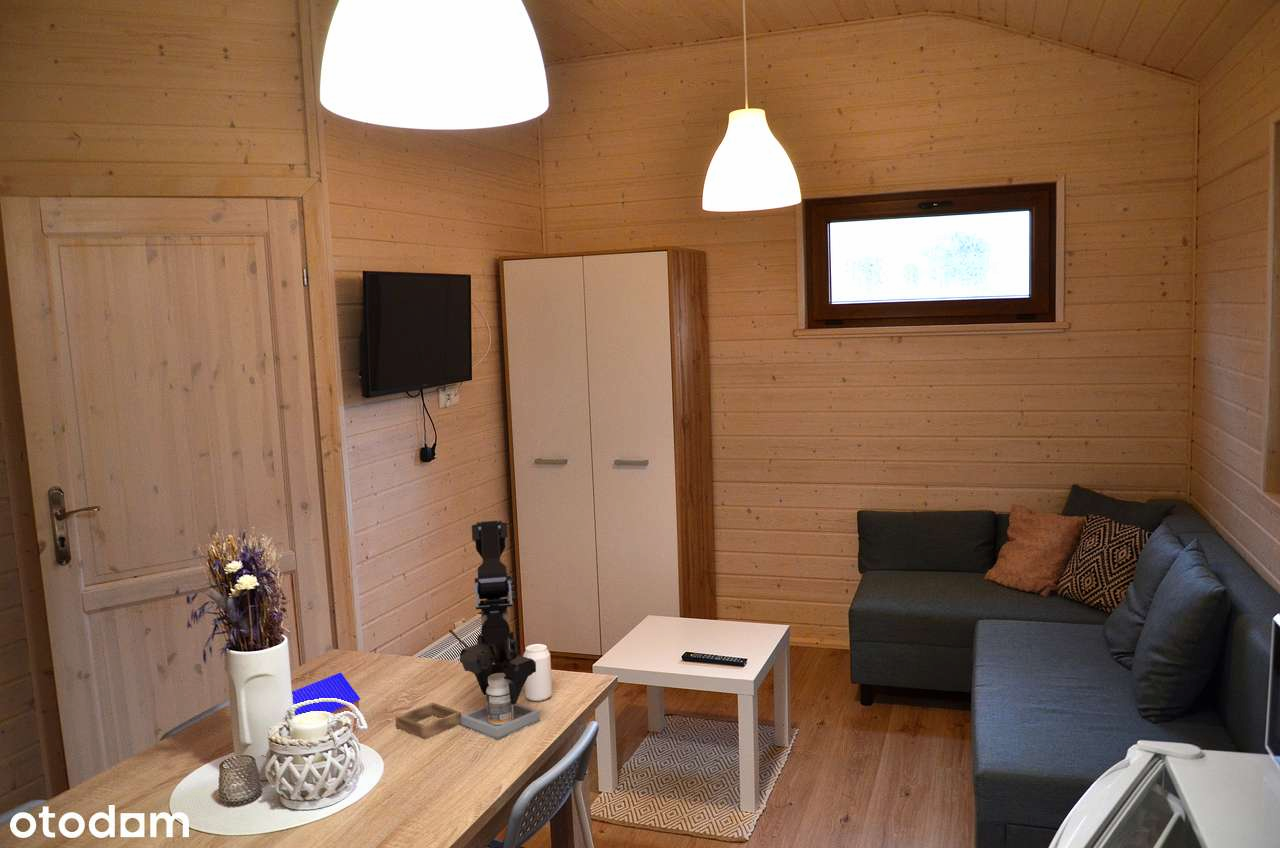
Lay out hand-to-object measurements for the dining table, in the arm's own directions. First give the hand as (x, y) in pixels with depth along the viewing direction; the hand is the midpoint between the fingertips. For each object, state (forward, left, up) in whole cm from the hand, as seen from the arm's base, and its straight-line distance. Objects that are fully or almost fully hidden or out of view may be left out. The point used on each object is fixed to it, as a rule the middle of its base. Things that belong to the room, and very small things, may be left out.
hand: (499, 699), depth 214 cm
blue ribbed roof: (+30, -28, -6) cm, 41 cm away
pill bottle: (0, 0, -5) cm, 5 cm away
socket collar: (+10, -12, -6) cm, 17 cm away
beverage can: (-15, -4, -6) cm, 17 cm away
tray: (0, 0, -6) cm, 6 cm away
